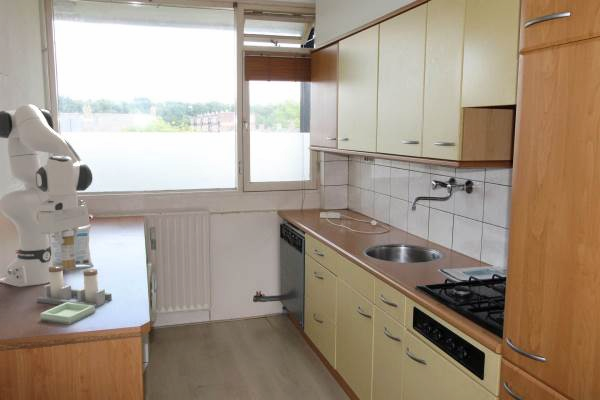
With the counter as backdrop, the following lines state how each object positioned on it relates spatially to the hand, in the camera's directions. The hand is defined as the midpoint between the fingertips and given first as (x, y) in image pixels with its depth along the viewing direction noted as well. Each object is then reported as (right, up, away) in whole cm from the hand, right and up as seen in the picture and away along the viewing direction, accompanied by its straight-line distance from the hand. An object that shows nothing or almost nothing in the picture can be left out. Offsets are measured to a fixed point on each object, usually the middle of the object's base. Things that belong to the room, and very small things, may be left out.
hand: (67, 242), depth 184 cm
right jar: (+4, -23, +11) cm, 26 cm away
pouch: (-25, -17, +61) cm, 68 cm away
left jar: (-11, -23, +16) cm, 30 cm away
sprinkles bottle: (0, -9, +1) cm, 9 cm away
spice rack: (-3, -23, +14) cm, 27 cm away
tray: (+2, -25, -3) cm, 25 cm away
